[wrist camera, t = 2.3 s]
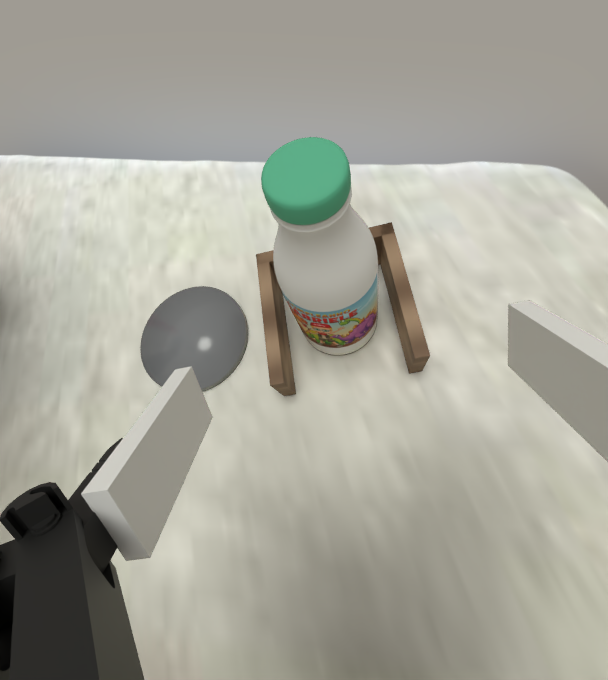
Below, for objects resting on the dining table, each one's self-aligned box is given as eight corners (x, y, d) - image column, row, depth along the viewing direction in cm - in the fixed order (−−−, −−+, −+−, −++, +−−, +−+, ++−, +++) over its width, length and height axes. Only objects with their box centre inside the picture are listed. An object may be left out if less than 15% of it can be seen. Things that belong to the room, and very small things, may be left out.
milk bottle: (301, 291, 38) (233, 126, 19) (373, 283, 36) (374, 98, 18) (303, 359, 35) (226, 243, 17) (380, 353, 34) (390, 220, 15)
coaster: (129, 335, 40) (123, 332, 39) (211, 271, 41) (207, 267, 40) (178, 417, 36) (173, 416, 35) (269, 343, 36) (266, 340, 35)
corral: (269, 279, 39) (256, 254, 34) (389, 252, 37) (391, 222, 33) (284, 396, 34) (270, 385, 30) (421, 370, 33) (430, 355, 28)
